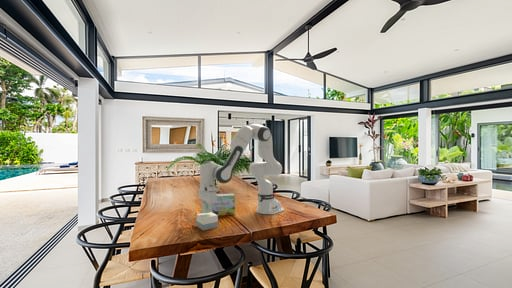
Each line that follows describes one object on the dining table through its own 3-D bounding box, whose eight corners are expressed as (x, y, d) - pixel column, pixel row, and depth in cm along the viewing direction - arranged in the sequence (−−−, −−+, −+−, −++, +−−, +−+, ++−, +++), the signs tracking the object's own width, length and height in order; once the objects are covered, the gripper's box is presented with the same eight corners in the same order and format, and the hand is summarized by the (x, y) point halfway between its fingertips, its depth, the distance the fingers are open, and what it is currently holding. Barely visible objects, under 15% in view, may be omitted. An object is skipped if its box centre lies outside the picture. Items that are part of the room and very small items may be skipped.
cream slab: (210, 217, 160) (210, 211, 160) (217, 221, 152) (217, 215, 152) (196, 220, 154) (196, 214, 154) (203, 224, 146) (203, 218, 146)
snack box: (206, 216, 174) (206, 195, 174) (206, 214, 180) (206, 194, 180) (234, 214, 178) (234, 194, 178) (234, 212, 184) (234, 193, 184)
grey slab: (210, 223, 160) (210, 217, 160) (217, 227, 152) (217, 221, 152) (196, 226, 154) (196, 220, 154) (202, 231, 146) (202, 224, 146)
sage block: (208, 210, 157) (208, 201, 157) (212, 212, 153) (212, 202, 153) (201, 211, 154) (201, 202, 154) (204, 213, 150) (204, 204, 150)
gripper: (196, 184, 160) (196, 205, 160) (209, 189, 143) (209, 212, 143) (204, 183, 163) (204, 203, 163) (218, 188, 147) (218, 210, 147)
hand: (206, 207), depth 153 cm, fingers closed on sage block, 5 cm apart
